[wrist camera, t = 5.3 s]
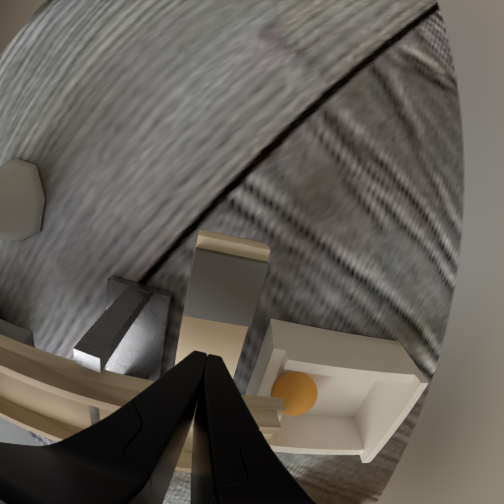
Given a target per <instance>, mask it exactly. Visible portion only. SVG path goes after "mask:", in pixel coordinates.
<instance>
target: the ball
mask: <svg viewBox="0 0 504 504" xmlns="http://www.w3.org/2000/svg"><path fill="white" fill-rule="evenodd" d="M317 396H318V390H317V386H316V384H315V382H314V380H313V379H312V378H311V377H310V376H308V375H307V374H305V373H302V372H297V371H294V372H288V373H285V374H283V375H282V376H280V377H279V378H278V379H277V380H276V381H275V383H274V384H273V387H272V390H271V397H276V398H282V400H283V404H284V407H285V411H284V413H283V414H286V415H290V416H297V415H301V414H304V413H306V412H308V411H309V410H310V409H311V408H312V407H313V406H314V404H315V402H316V400H317Z"/></svg>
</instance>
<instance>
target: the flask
mask: <svg viewBox="0 0 504 504" xmlns="http://www.w3.org/2000/svg"><path fill="white" fill-rule="evenodd" d="M44 203H45V196H44V192H43V189H42V185H41V181H40V177H39V173H38V169H37V165H34V164H31V163H28V162H26V161H23V160H20V159H17V158H14V159H13V160H11V161H9V162H8V163H6V164H5V165H3V166H2V167H0V239H4V240H10V241H18V242H20V241H22V240H24V239H26V238H28V237H30V236H32V235H34V234H37V233H39V232H40V228H41V221H42V214H43V208H44Z"/></svg>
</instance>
